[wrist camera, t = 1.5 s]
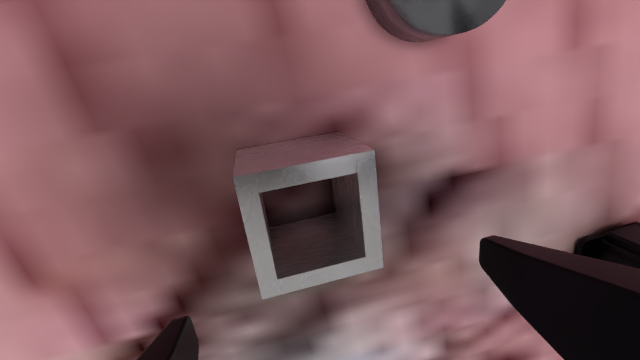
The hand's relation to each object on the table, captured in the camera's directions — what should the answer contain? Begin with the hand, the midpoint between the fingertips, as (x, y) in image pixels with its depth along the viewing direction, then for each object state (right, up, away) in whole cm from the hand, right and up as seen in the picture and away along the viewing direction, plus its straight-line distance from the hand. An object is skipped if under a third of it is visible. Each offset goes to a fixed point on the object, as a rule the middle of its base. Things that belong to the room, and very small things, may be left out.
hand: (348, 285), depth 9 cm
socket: (-2, +3, +8) cm, 9 cm away
